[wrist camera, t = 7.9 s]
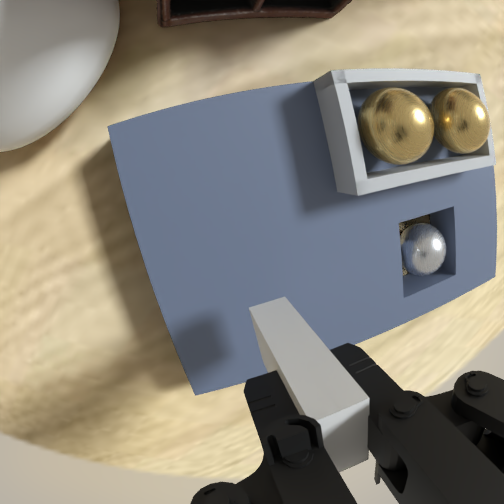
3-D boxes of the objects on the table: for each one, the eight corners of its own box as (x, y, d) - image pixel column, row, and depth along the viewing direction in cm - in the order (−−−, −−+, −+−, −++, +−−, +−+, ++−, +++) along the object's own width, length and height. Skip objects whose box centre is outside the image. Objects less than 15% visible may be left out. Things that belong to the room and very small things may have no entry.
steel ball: (390, 280, 19) (435, 288, 16) (384, 230, 18) (434, 234, 15) (411, 261, 20) (453, 266, 18) (407, 215, 20) (451, 218, 17)
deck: (193, 370, 19) (197, 419, 14) (119, 132, 15) (95, 120, 10) (473, 267, 21) (514, 285, 17) (454, 85, 17) (500, 77, 13)
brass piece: (352, 169, 15) (395, 171, 11) (336, 97, 14) (376, 81, 10) (408, 158, 15) (455, 160, 12) (395, 92, 14) (440, 81, 11)
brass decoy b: (421, 156, 15) (468, 158, 12) (408, 92, 14) (454, 81, 11) (461, 150, 16) (506, 151, 12) (451, 92, 15) (494, 85, 11)
